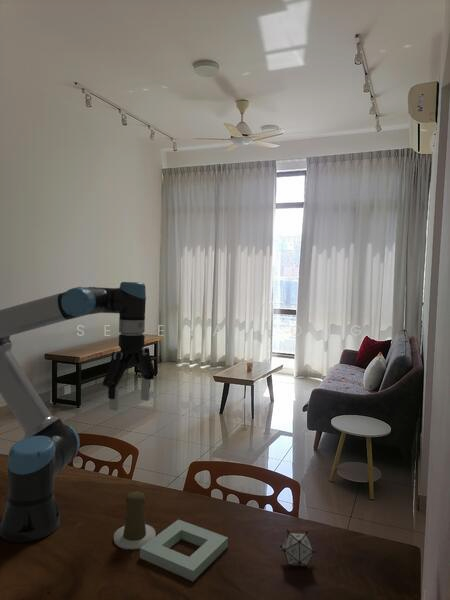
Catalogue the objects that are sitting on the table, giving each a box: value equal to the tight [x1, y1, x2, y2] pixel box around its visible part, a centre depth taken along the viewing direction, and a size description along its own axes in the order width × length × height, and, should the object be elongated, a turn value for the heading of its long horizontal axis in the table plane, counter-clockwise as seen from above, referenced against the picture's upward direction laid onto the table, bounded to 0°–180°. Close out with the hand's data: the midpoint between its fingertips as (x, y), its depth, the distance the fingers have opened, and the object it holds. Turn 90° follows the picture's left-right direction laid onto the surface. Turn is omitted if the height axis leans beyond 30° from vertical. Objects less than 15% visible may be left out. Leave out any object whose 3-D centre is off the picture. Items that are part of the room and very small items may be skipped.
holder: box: [139, 519, 229, 582], centre depth 112 cm, size 16×16×2 cm
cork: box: [123, 491, 147, 541], centre depth 118 cm, size 6×6×11 cm
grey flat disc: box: [113, 523, 157, 551], centre depth 118 cm, size 11×11×1 cm
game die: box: [279, 529, 317, 570], centre depth 108 cm, size 9×8×10 cm
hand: (129, 404), depth 131 cm, fingers open, 13 cm apart
